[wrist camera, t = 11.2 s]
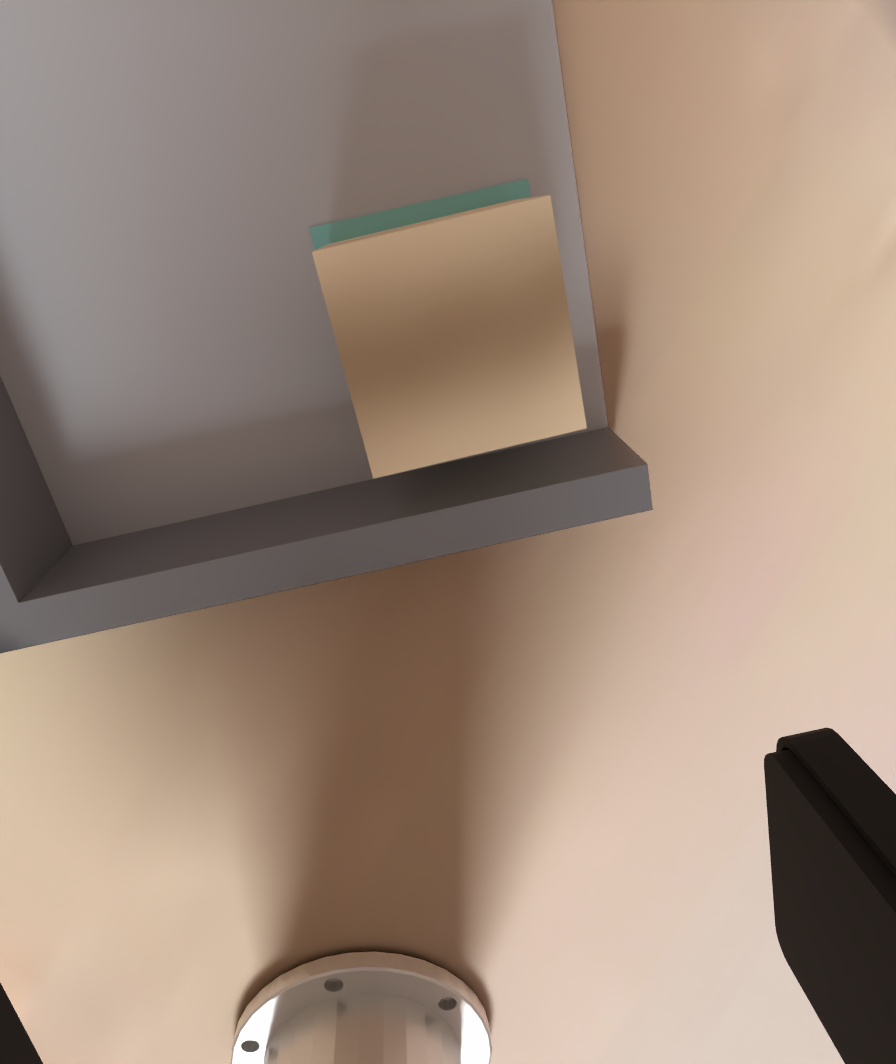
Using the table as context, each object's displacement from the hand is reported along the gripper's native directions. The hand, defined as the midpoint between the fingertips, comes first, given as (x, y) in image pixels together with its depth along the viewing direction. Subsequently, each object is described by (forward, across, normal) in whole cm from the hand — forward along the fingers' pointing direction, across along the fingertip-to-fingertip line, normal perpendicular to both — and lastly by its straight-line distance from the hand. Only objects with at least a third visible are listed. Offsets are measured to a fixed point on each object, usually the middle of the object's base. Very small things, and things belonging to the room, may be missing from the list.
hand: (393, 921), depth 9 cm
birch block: (+20, -3, -5) cm, 20 cm away
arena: (+20, +3, -8) cm, 22 cm away
